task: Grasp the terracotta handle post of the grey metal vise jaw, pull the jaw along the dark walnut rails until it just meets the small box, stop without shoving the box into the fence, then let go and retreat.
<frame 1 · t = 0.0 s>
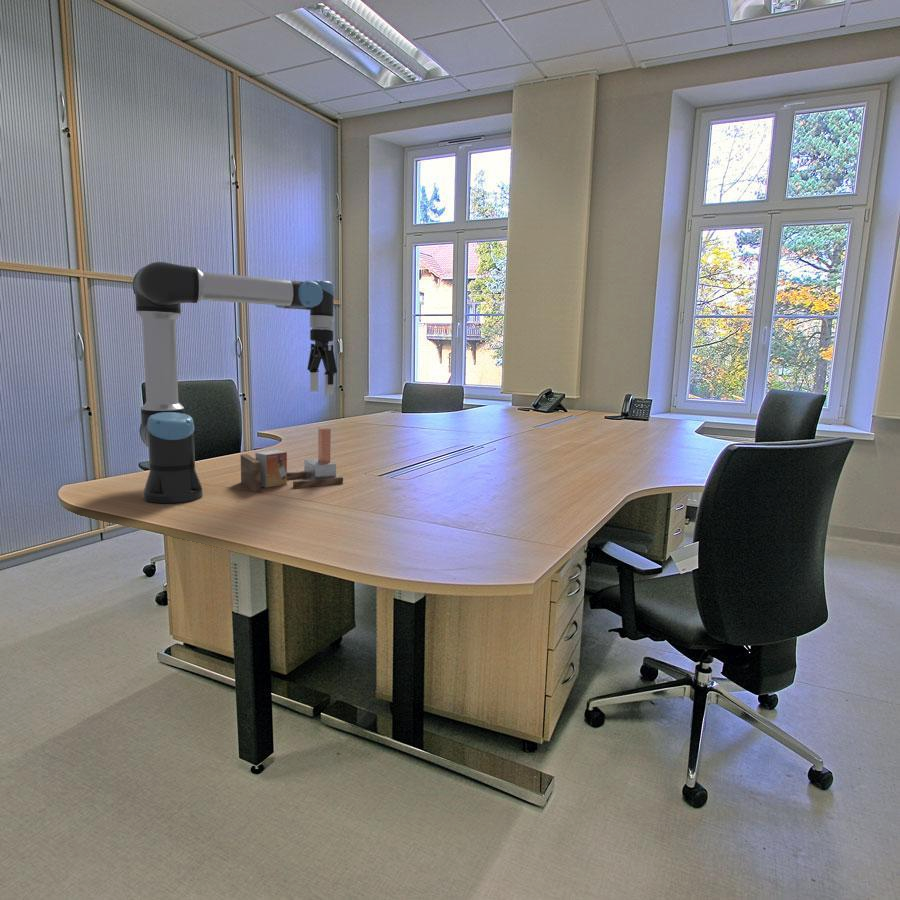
hand: (321, 393, 203), 28 cm above the table, fingers open, 13 cm apart
small box: (271, 485, 189), on the table
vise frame: (296, 482, 194), on the table
jaw: (320, 454, 197), point 9 cm above the table, slide at 0.0 cm
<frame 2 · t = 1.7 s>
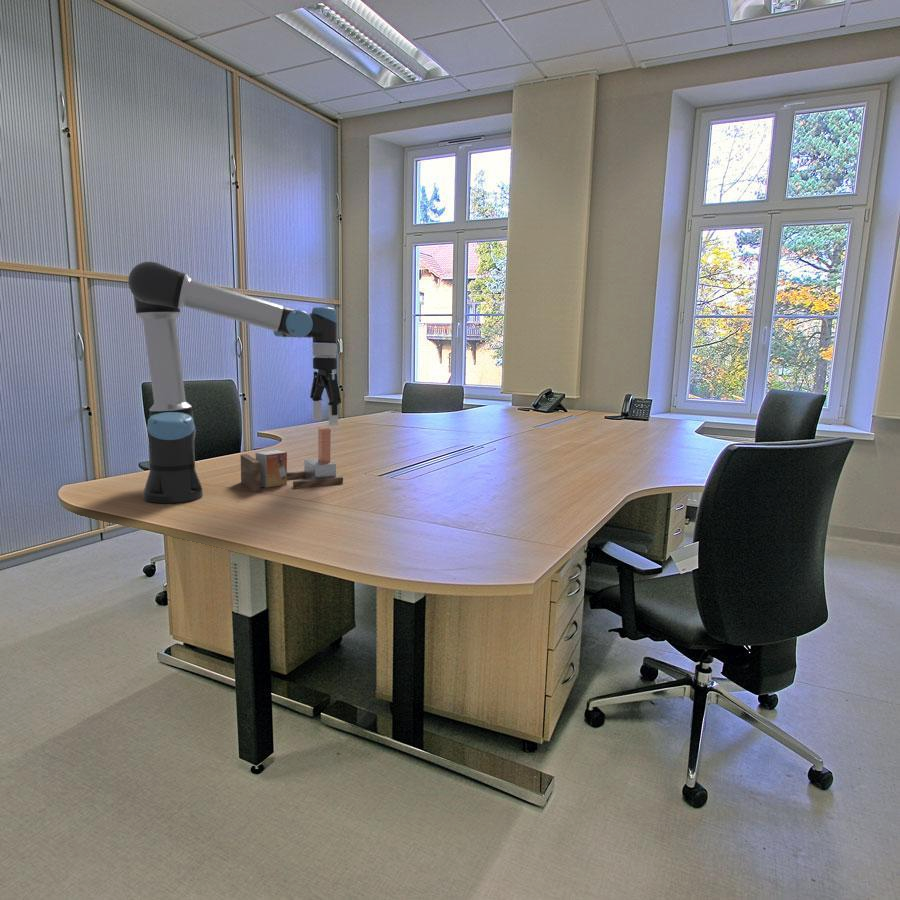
hand: (325, 422, 196), 19 cm above the table, fingers open, 13 cm apart
nothing on the table moved.
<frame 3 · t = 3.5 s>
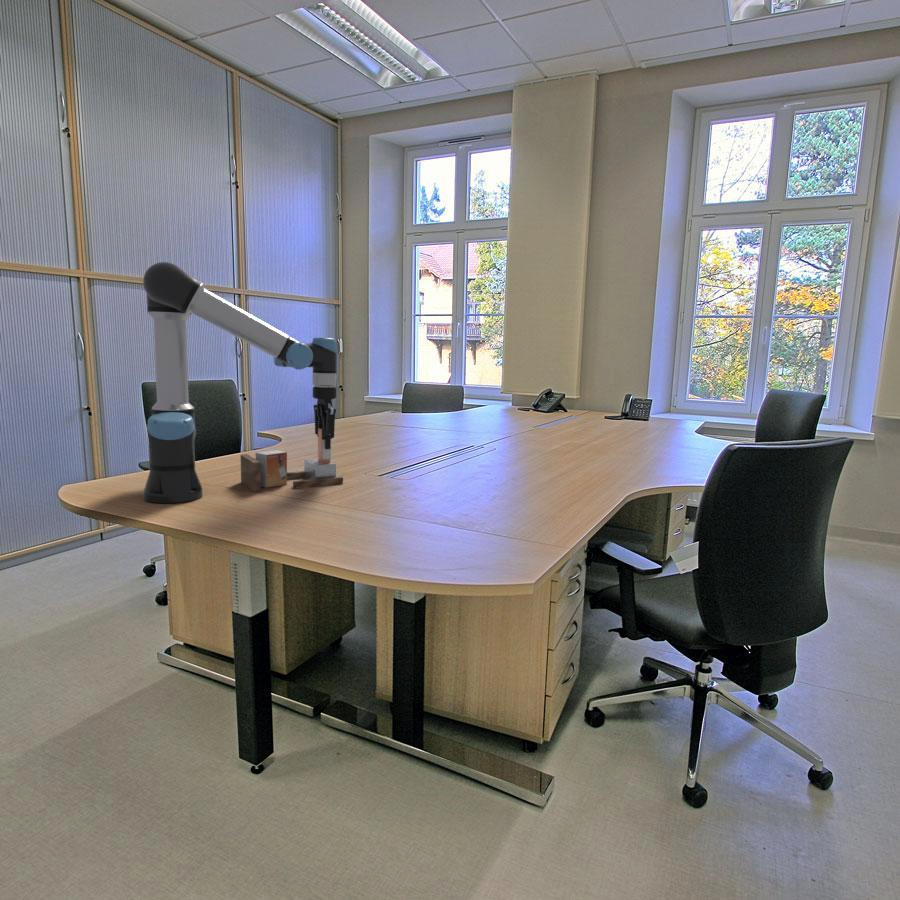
hand: (324, 457, 198), 8 cm above the table, fingers closed on jaw, 3 cm apart
jaw: (320, 454, 197), point 9 cm above the table, slide at 0.0 cm, touching gripper
everything else where it was.
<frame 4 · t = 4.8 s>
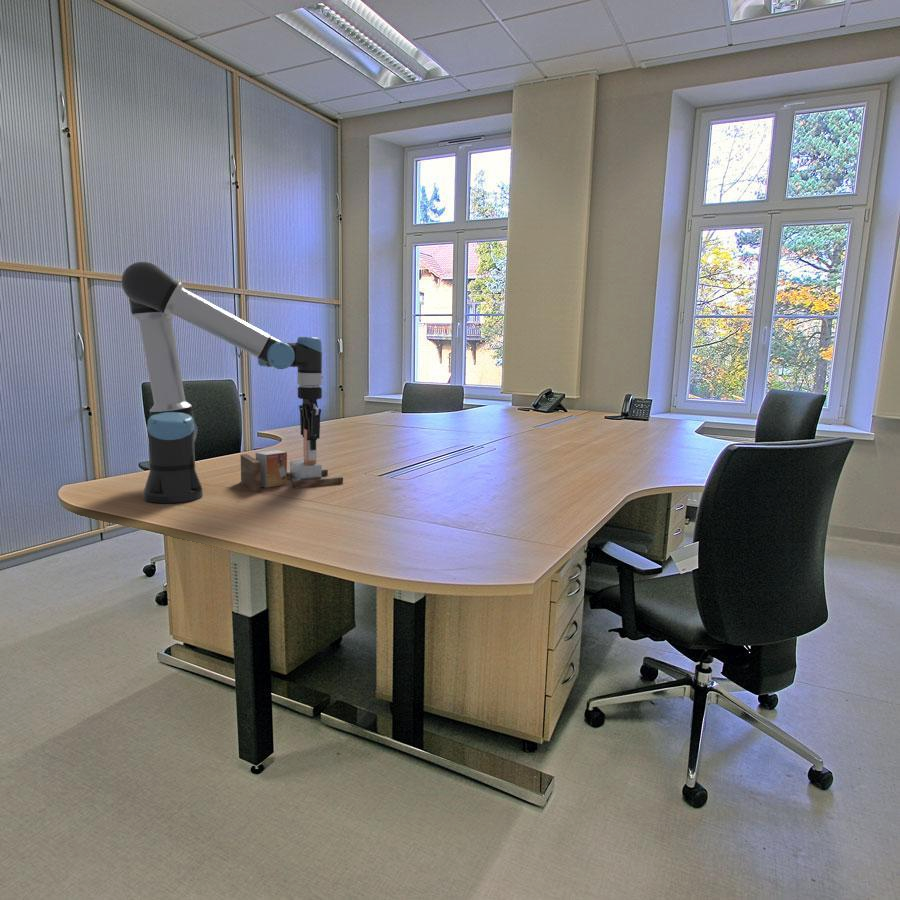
hand: (309, 458, 195), 8 cm above the table, fingers closed on jaw, 3 cm apart
jaw: (305, 455, 194), point 9 cm above the table, slide at 4.9 cm, touching gripper
everything else where it was.
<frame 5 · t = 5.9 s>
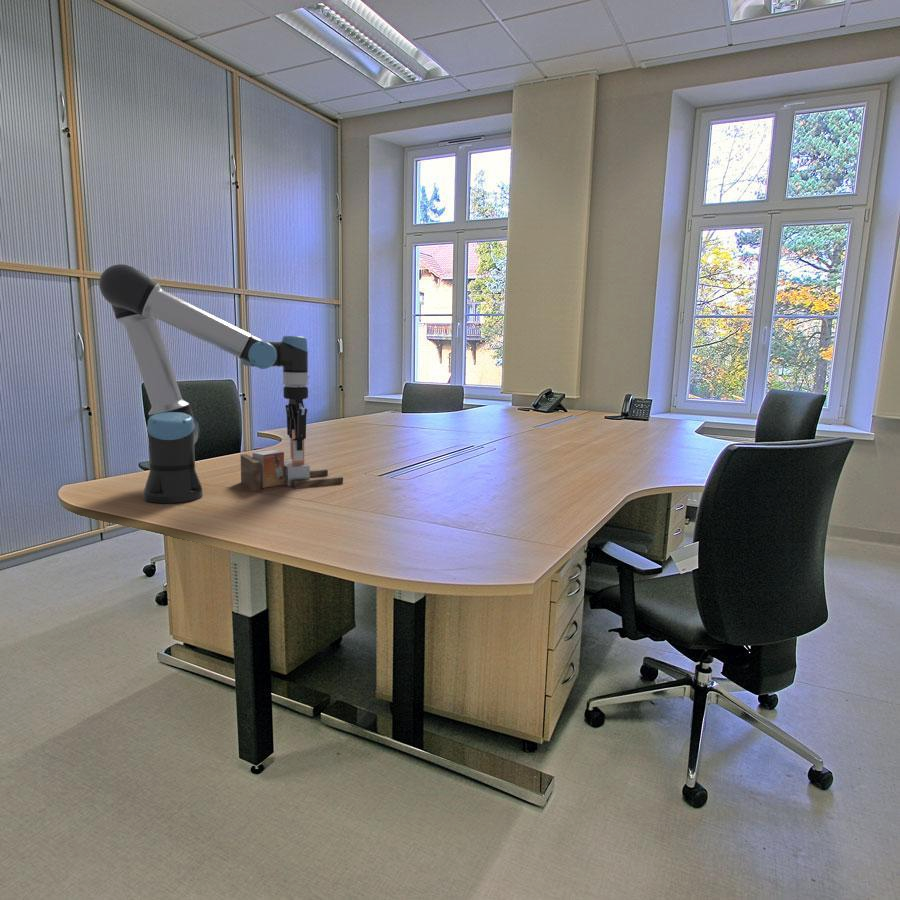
hand: (296, 459, 193), 8 cm above the table, fingers closed on jaw, 3 cm apart
small box: (268, 485, 189), on the table, touching jaw, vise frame
jaw: (293, 456, 192), point 9 cm above the table, slide at 8.9 cm, touching gripper, small box
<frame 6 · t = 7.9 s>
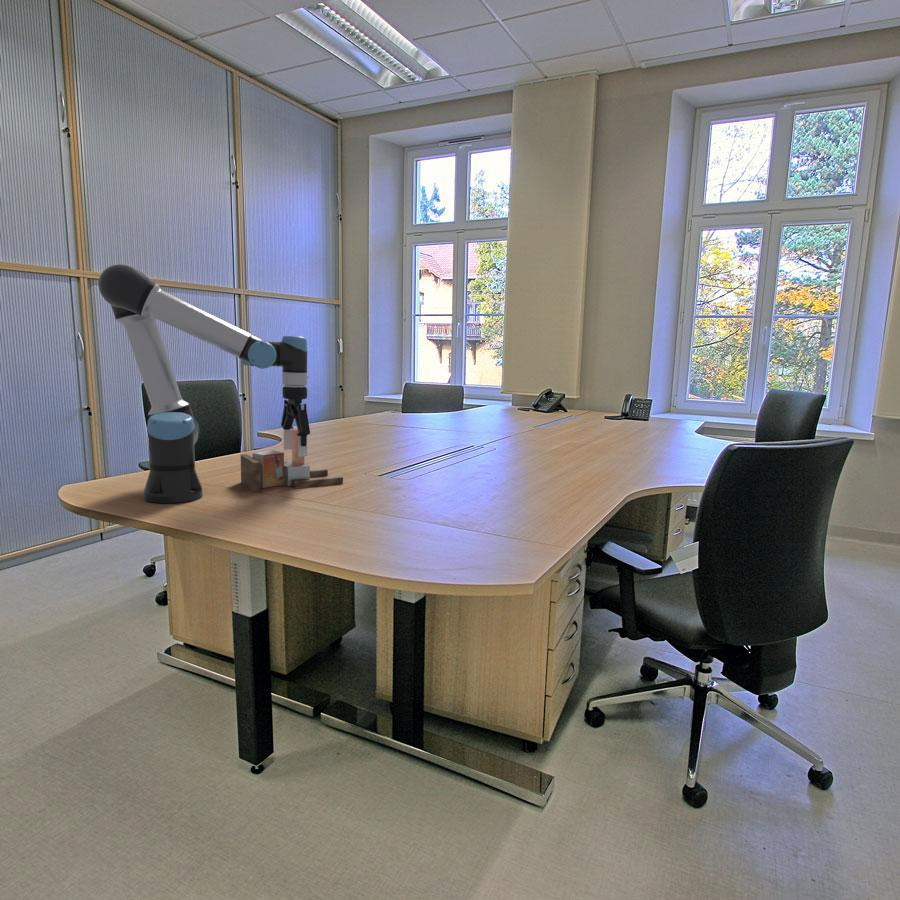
hand: (295, 452, 192), 10 cm above the table, fingers open, 13 cm apart
small box: (268, 485, 189), on the table
jaw: (293, 456, 192), point 9 cm above the table, slide at 8.8 cm
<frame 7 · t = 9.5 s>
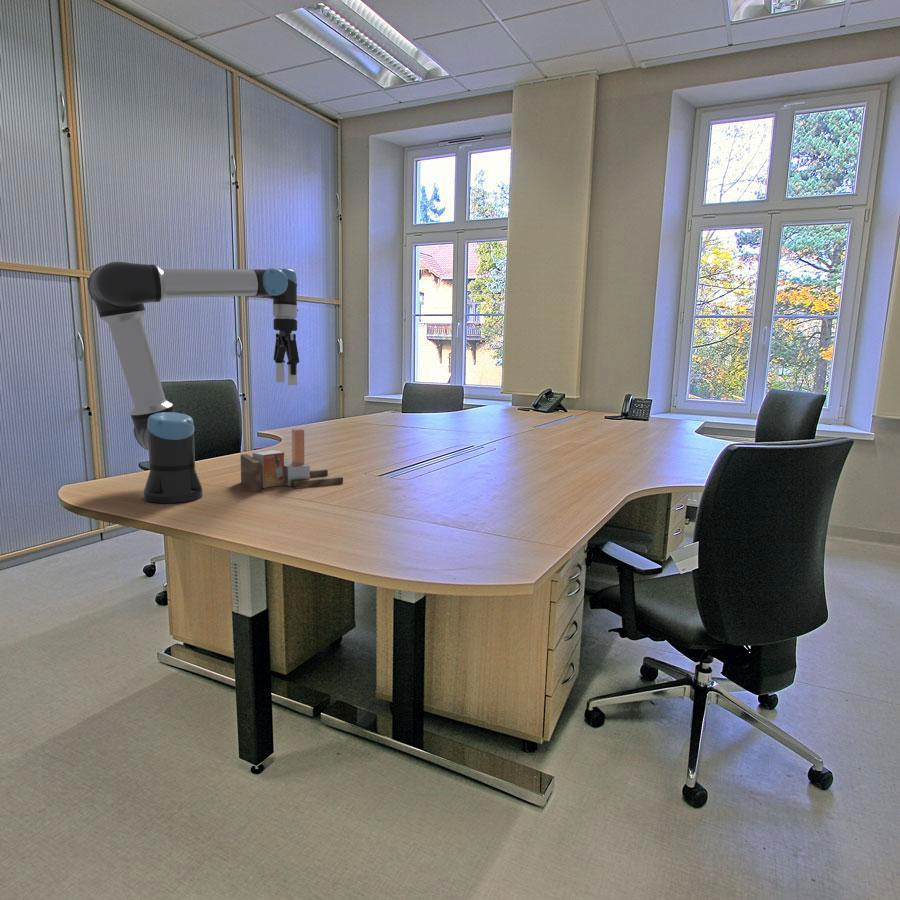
hand: (286, 383, 200), 31 cm above the table, fingers open, 13 cm apart
nothing on the table moved.
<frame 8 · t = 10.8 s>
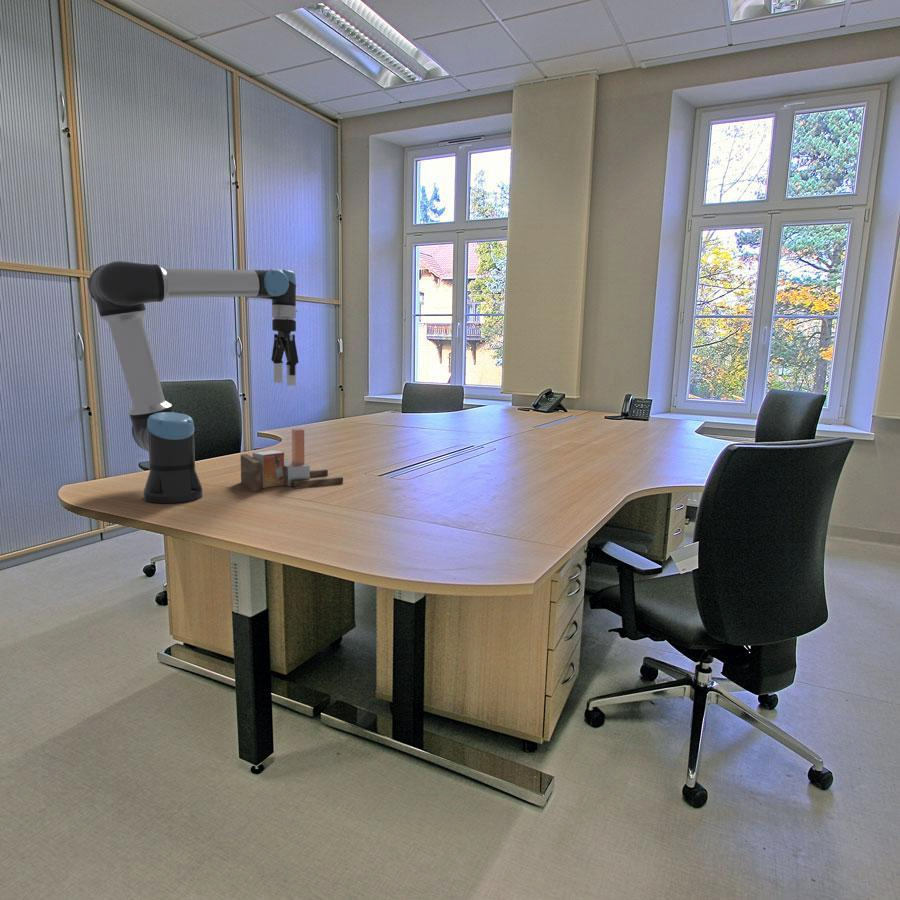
hand: (284, 384, 201), 31 cm above the table, fingers open, 13 cm apart
nothing on the table moved.
at the end: jaw slide at 8.8 cm; small box moved 0.9 cm from its start; the gripper is holding nothing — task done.
